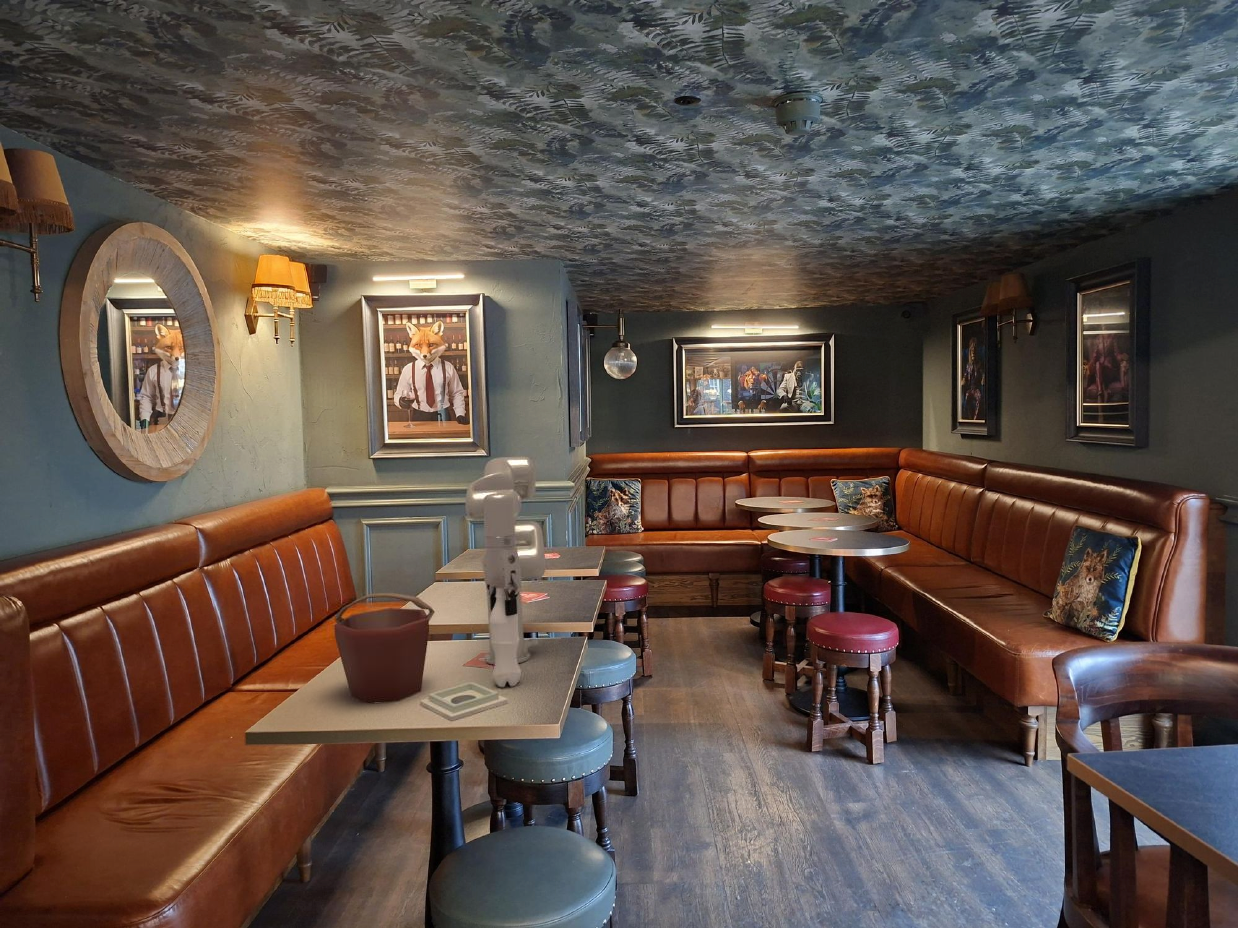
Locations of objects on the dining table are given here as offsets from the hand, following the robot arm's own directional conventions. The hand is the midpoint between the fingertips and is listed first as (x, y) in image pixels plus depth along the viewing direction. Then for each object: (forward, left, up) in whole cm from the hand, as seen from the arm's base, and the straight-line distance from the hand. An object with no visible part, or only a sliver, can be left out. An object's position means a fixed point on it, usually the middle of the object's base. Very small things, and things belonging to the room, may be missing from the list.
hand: (503, 612), depth 200 cm
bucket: (+24, -18, -19) cm, 35 cm away
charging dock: (+15, +4, -19) cm, 24 cm away
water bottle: (0, 0, -19) cm, 19 cm away
